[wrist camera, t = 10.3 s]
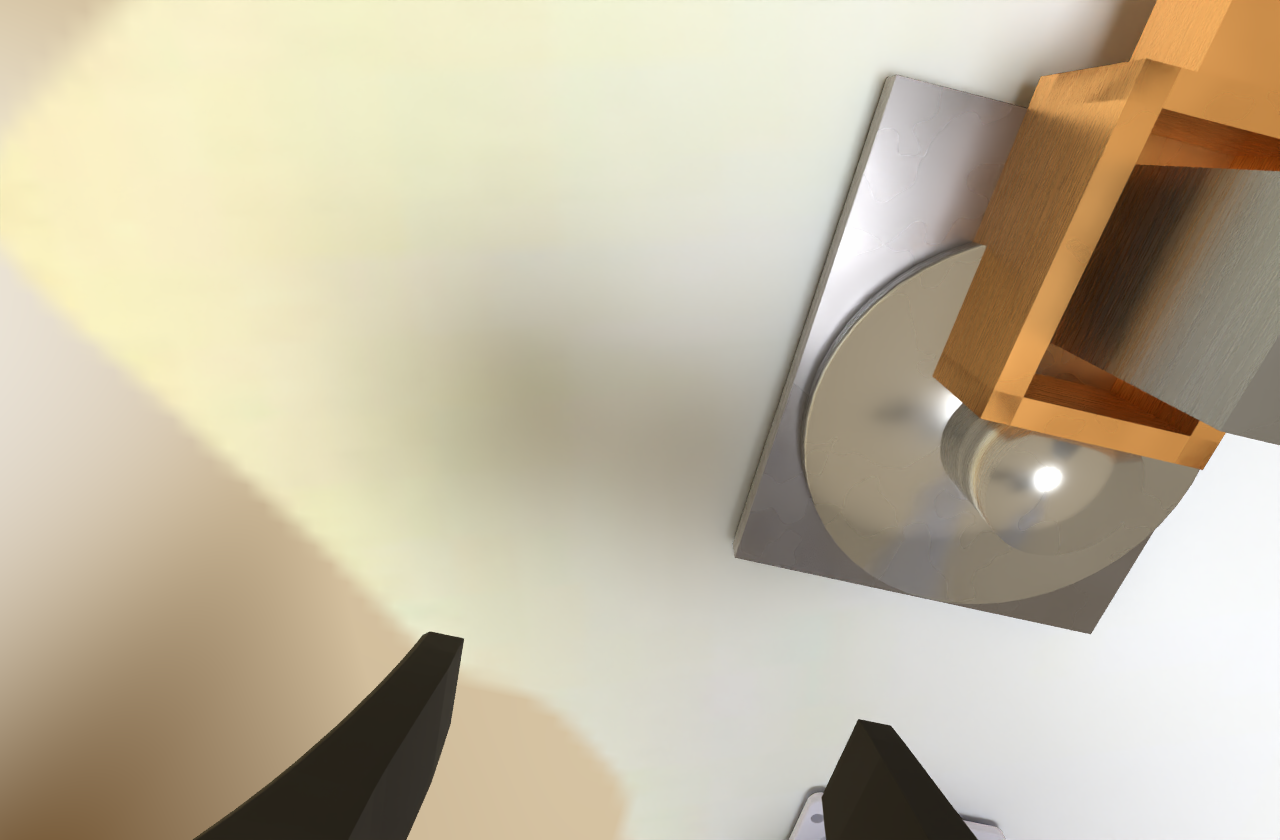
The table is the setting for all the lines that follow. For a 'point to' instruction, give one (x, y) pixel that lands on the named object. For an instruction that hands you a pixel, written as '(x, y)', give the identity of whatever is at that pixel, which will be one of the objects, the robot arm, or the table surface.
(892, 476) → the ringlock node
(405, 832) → the robot arm
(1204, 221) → the brushed metal block
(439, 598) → the table surface
